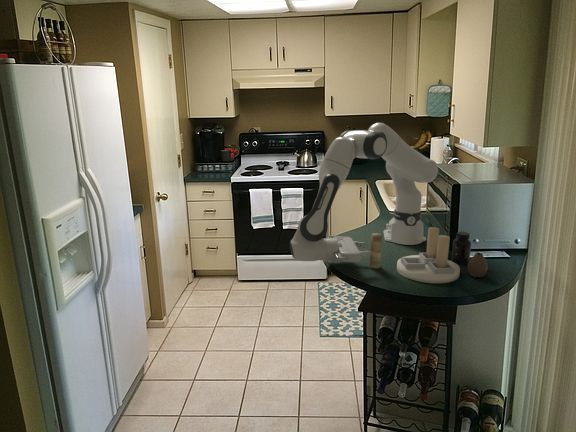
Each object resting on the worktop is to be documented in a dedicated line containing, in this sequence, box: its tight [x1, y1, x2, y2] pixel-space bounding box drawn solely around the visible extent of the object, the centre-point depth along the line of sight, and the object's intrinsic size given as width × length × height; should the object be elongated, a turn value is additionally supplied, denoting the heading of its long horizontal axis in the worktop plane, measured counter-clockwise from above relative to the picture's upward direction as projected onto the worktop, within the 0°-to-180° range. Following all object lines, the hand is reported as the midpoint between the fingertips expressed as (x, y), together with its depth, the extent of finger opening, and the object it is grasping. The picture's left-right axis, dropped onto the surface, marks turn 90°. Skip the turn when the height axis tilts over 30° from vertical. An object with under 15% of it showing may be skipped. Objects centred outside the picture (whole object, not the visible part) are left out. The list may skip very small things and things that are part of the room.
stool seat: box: [396, 226, 461, 284], centre depth 183 cm, size 23×23×16 cm
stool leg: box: [369, 232, 383, 269], centre depth 188 cm, size 4×4×13 cm
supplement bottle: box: [451, 231, 472, 265], centre depth 194 cm, size 7×7×12 cm
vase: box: [467, 252, 489, 278], centre depth 180 cm, size 7×7×9 cm
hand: (367, 248), depth 188 cm, fingers open, 8 cm apart
